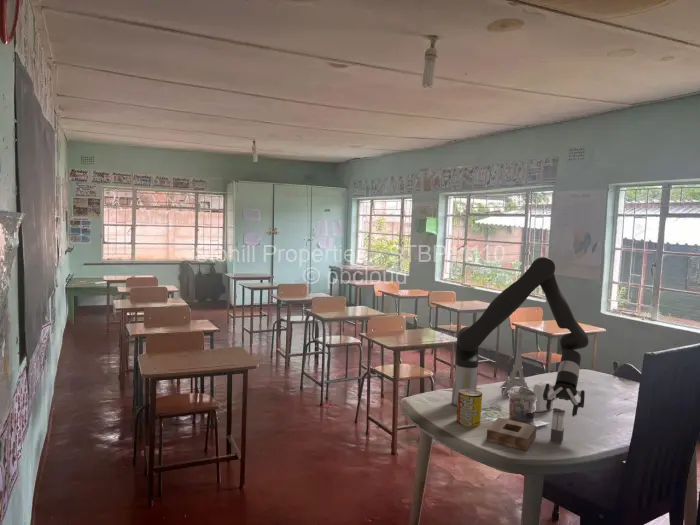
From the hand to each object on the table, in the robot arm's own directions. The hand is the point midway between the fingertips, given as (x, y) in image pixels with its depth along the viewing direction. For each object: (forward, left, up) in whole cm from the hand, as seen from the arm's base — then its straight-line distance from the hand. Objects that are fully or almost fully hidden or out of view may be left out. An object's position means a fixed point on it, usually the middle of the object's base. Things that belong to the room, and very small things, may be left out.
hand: (560, 413), depth 193 cm
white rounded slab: (-11, +28, -9) cm, 32 cm away
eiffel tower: (-26, +46, -10) cm, 54 cm away
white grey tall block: (0, -4, -9) cm, 10 cm away
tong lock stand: (-14, -13, -9) cm, 21 cm away
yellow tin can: (-32, -7, -9) cm, 34 cm away
